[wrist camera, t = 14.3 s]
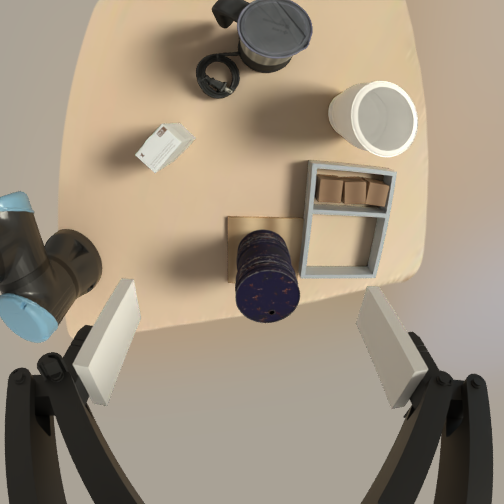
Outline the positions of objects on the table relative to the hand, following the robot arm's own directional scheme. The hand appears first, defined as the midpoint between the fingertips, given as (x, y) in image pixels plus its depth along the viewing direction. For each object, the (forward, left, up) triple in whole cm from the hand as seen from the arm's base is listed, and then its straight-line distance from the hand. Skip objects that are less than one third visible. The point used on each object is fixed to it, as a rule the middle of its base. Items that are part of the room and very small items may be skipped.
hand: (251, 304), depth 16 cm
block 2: (+19, -3, -39) cm, 43 cm away
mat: (+4, -16, -39) cm, 42 cm away
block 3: (+23, -3, -39) cm, 45 cm away
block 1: (+14, -3, -39) cm, 41 cm away
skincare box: (-12, +5, -39) cm, 41 cm away
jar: (+18, +11, -39) cm, 44 cm away
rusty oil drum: (+3, -16, -38) cm, 42 cm away
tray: (+19, -9, -39) cm, 44 cm away
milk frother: (-1, +19, -39) cm, 43 cm away
